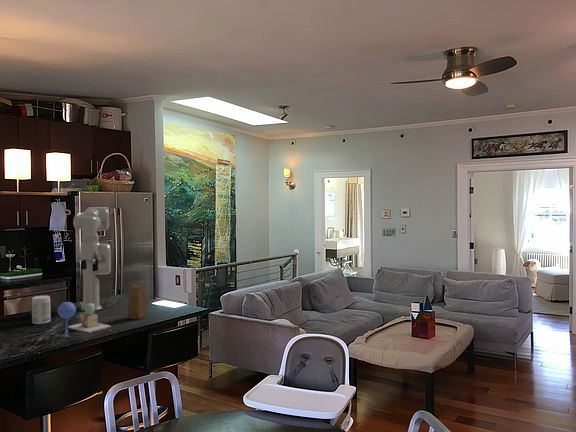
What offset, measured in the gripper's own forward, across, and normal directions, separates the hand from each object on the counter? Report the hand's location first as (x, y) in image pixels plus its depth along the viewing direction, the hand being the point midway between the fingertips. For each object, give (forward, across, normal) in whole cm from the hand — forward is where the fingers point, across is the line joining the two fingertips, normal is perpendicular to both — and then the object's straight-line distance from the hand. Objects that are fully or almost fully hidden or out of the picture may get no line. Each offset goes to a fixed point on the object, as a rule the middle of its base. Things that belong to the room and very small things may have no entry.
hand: (89, 270), depth 269 cm
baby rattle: (+32, +6, -18) cm, 37 cm away
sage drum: (+25, 0, 0) cm, 25 cm away
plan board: (+32, 0, 0) cm, 32 cm away
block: (+32, +5, +30) cm, 44 cm away
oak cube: (+31, 0, 0) cm, 31 cm away
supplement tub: (+32, -32, -8) cm, 46 cm away
